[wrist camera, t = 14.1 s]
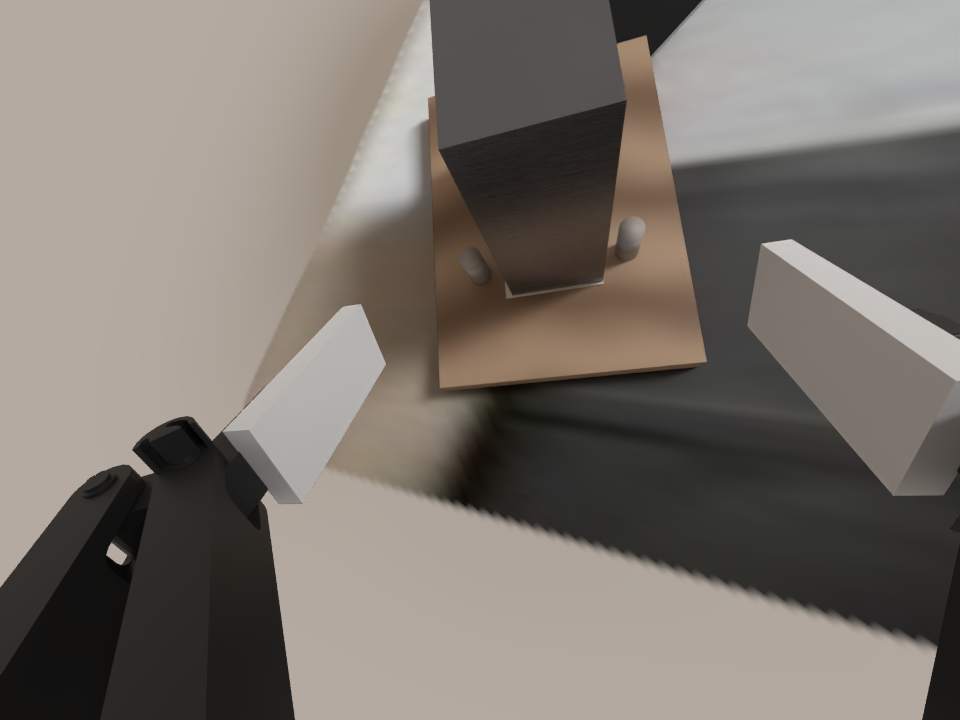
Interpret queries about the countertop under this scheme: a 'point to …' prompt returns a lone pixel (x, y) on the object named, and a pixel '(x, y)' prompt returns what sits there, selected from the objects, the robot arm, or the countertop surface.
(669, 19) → the smartphone
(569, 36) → the block
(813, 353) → the robot arm
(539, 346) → the dock
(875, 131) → the countertop surface
